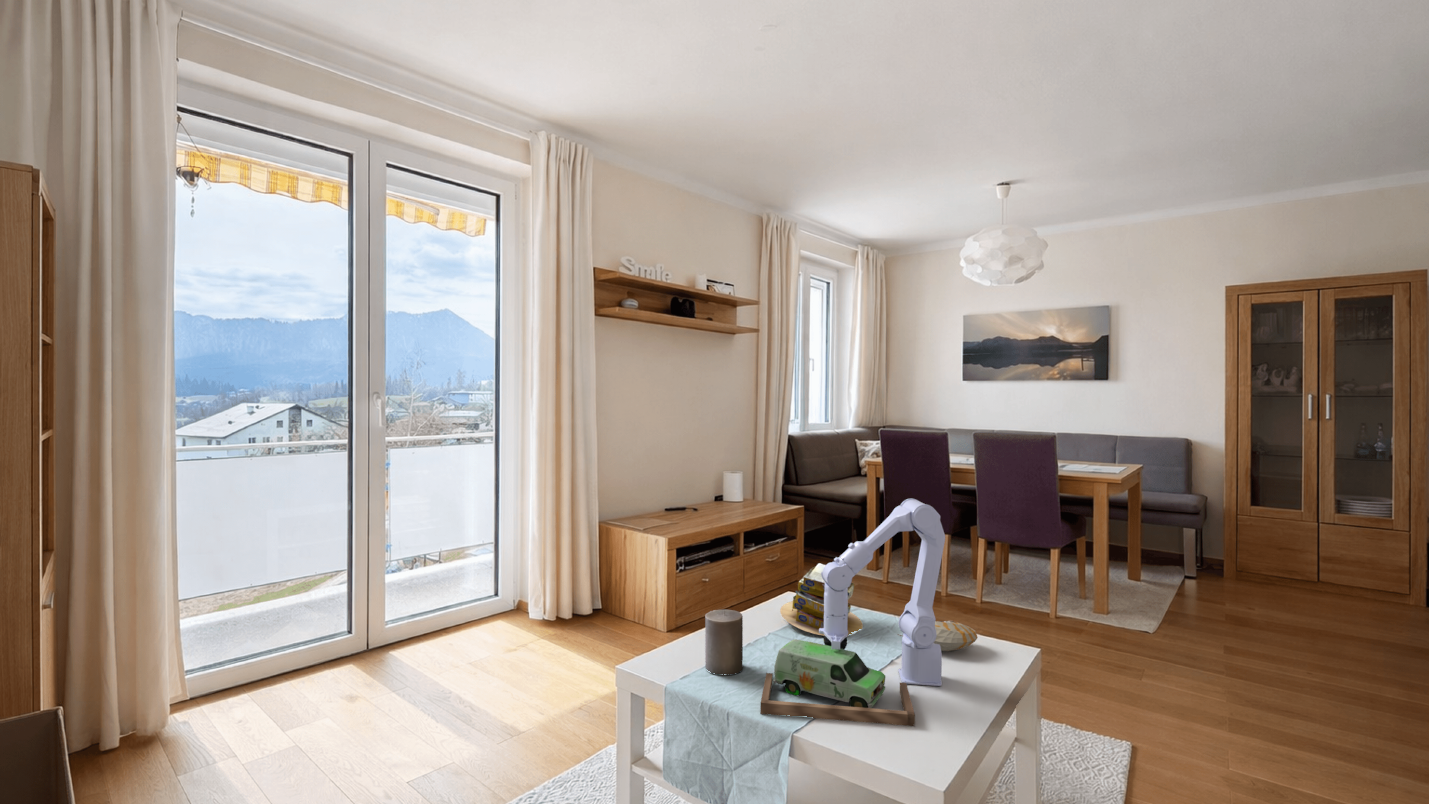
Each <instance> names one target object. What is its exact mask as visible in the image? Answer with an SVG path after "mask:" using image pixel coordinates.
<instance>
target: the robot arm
mask: <svg viewBox="0 0 1429 804" xmlns="http://www.w3.org/2000/svg"><path fill="white" fill-rule="evenodd" d="M913 531H915V532H916V534H917V535H918V536H919V537H920V539H921V542H920V547H919V553H918V558H917V559H918V560H917V563H916V564H917V565H916V569H915V574H914V575H915V576H914V580H913V585H912V589H911V595H910V600H909V602H907V603H906V604H905V607H904V610H903V611H902V614H901V615H900V616H899V617H898V618H899V619H898V628H899V631H901V632H902V638H901V668H898V669H897V671H898V675H899V678H900V683H906V684H908V685H918V686H919V685H921V686H932V687H933V686H934V687H942V685H943V684H942V671H943V670H942V665H943V664H942V663H943V662H942V661H943V659H942V658H943V657H942V651H941V647H940V645H939V644H935V643H934V641H935V640H936V635H937V633H936V629H935V621H937V620H936V616H935V613H934V609H933V606H934V600H935V595H936V590H937V585H938V579H939V574H940V569H941V564H942V558H943V553H944V548H945V542H946V534H945V532H944V527H943V524H942V522H941V515H940V514H939V512H938V511H937V510H936V509H935V508H934V507H933V506H931V504H927V503H926V504H925V503H923V502H921V501H920V500H918V499H915V498H907V499H904V500H903V501H902V502H901V503H900V505H898V506H895V508H894V509H893V510H892V512H891V513H890V514H889V516H888V517H886V518H885V519H884V520H883V521H882V523H880V525H878V526H877V527H876V528H875V529H874V530H873V532H872V533H870V534H869V535H868V537H866V538H865V539H864V540H863V541H858V540H857V541H855V542H854V543H853V542H850V543H849V544H848V546H847V547H848V548H847V549H846V550H845V551H844V552H843V553H842V554H840V555H839V557H837V556H835V558H833V561H832V562H828V563H827V564H825V565H826V566H825V567H824V570H823V572H821V575H822V578H823V580H824V581H825V592H824V628H819V633H820V634H824V635H825V636H823V645H828V646H831V649H839V650H840V648H841V649H844V650H846V648H847V645H848V637H849V636H848V630H847V621H848V604H849V599H848V587H849V586H850V585H851V583H853V582H852V581H853V578H854V577H855V576H856V575H857V574H858V573H859V572H860V571H862V570H863V569H864V568H865V567H866V566H868V564H869V563H871V561H872V560H873V559H874V552H876V551H877V549H879V548H880V547H881V546H883V544H885V543H886V542H887V541H889V540H890V539H891V538H892V537H894V536H895V535H897V533H900V532H913Z"/></svg>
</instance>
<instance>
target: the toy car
mask: <svg viewBox="0 0 1429 804" xmlns="http://www.w3.org/2000/svg"><path fill="white" fill-rule="evenodd" d="M773 666H774V668H773V670H774V673H773V674H774V679H773V680H772V682H773V684H778V685H781V686H783V685H784V690H785V692H786V693H787V694H789V693H790V695H793V696H797V695H799V696H800V695H801V693H802V692H806V693H809V694H813V695H817V696H821V697H824V698H829V699H832V700H837V701H841V702H844V703H849V707H861V708H873V707H874V705H876V703H877V702H878V701H879V699H880V698H882V695H884V692H885V690H886V686H885V684H886V683H885V682H886V675H885V673H883V671H880V670H876V669H873V668H871V667H867V665H866V663H864V661H863V660H862V659H861V656H859V654H857V652H855V651H852V650H848V649H841V648H840V650H839V649H831V646H828V645H825V644H824V643H822V644H821V643H817V642H812V641H807V640H802V639H796V638H795V639H792V640H790V641H789V642H787V643H786V644H784V645H783V646H782V647H781V648H779V650H778V652H777V655H776V659H775V661H774V665H773Z"/></svg>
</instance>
